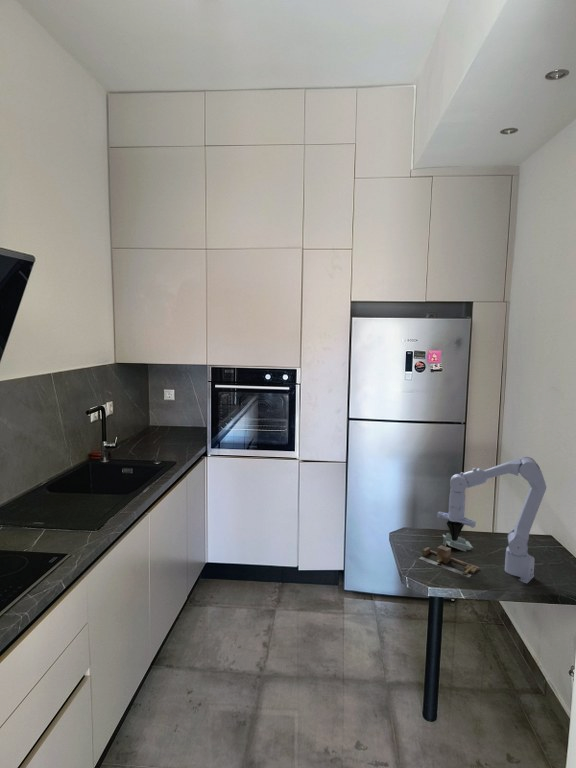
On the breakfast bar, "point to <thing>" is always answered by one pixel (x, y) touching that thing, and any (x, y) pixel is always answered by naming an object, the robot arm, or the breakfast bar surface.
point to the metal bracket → (457, 543)
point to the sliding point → (443, 554)
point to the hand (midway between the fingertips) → (454, 540)
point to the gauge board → (467, 569)
